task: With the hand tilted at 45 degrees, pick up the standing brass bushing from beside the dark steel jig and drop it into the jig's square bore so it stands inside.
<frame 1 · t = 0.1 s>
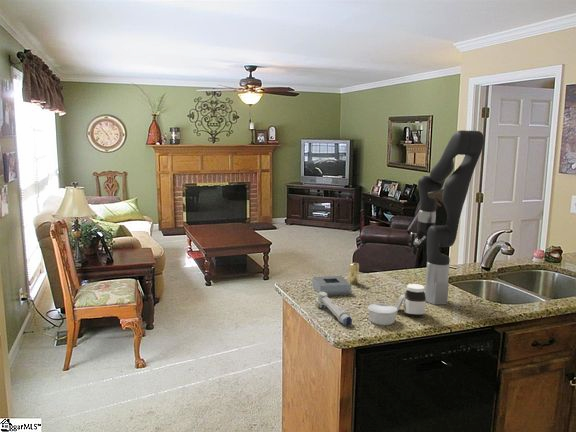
hand: (423, 254, 219), 17 cm above the worktop, tool pointing down, fingers open, 8 cm apart
ramekin: (381, 321, 185), on the worktop
brass bushing: (353, 282, 232), on the worktop
steel jig: (331, 290, 221), on the worktop
spread jar: (408, 313, 194), on the worktop
grey blue-tipped handle: (332, 315, 191), on the worktop
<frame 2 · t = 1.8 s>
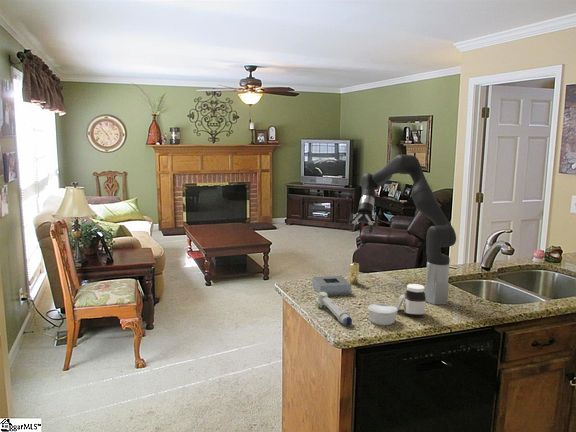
hand: (361, 232, 239), 23 cm above the worktop, tool tilted 45°, fingers open, 8 cm apart
nothing on the worktop moved.
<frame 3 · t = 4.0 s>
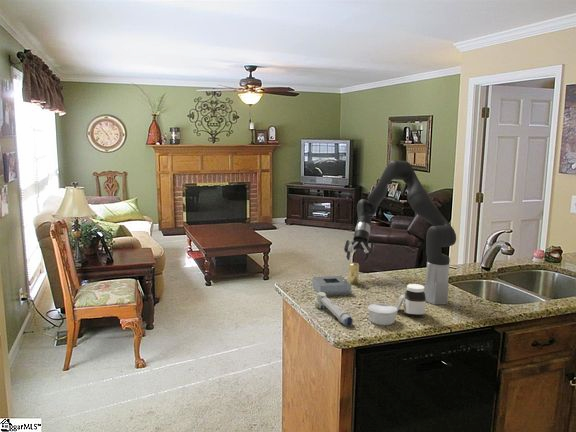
hand: (356, 260, 236), 10 cm above the worktop, tool tilted 45°, fingers open, 8 cm apart
nothing on the worktop moved.
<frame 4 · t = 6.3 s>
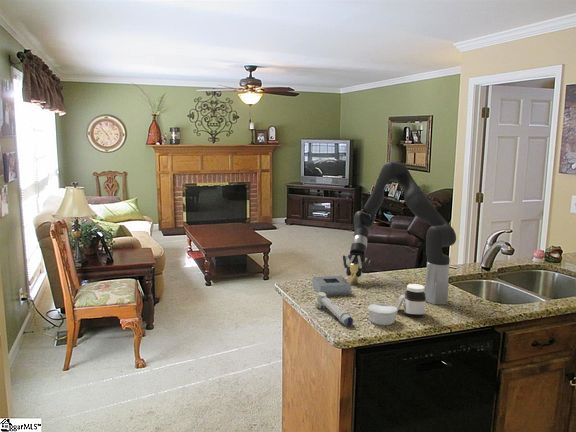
hand: (353, 275, 230), 4 cm above the worktop, tool tilted 45°, fingers closed on brass bushing, 4 cm apart
brass bushing: (353, 282, 232), on the worktop, touching gripper
everything else where it was.
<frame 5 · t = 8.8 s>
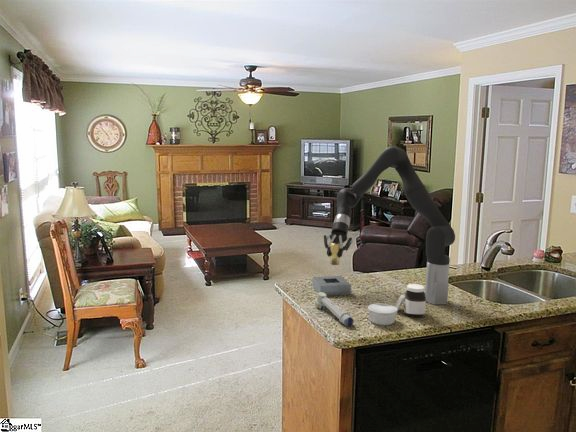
hand: (333, 256, 218), 16 cm above the worktop, tool tilted 45°, fingers closed on brass bushing, 4 cm apart
brass bushing: (334, 263, 221), point 12 cm above the worktop, touching gripper
everything else where it was.
when the fingers open (7 cm above the worktop, at t = 11.5 s): brass bushing drops 2 cm, resting on steel jig.
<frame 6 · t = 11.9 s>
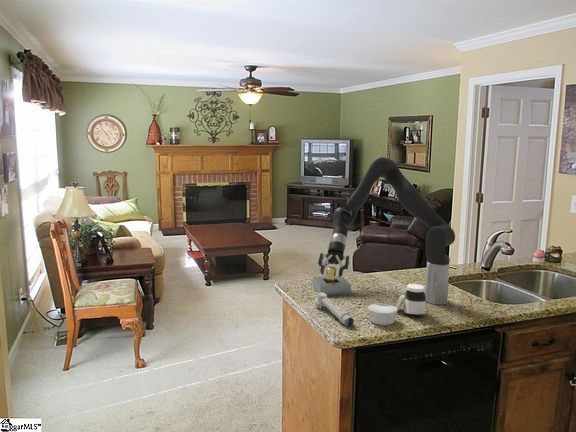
hand: (330, 275, 218), 8 cm above the worktop, tool tilted 45°, fingers open, 7 cm apart
brass bushing: (330, 287, 221), point 1 cm above the worktop, touching steel jig
everything else where it was.
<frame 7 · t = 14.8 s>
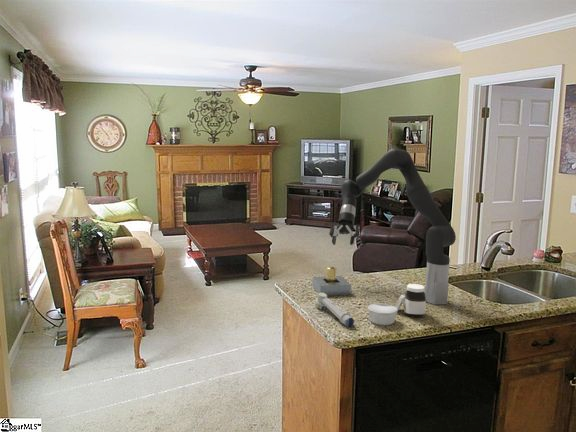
hand: (342, 244, 229), 19 cm above the worktop, tool tilted 40°, fingers open, 8 cm apart
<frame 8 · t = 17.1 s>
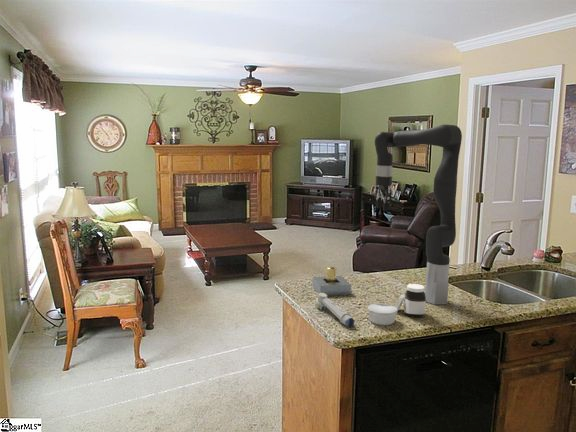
hand: (382, 209, 227), 36 cm above the worktop, tool pointing down, fingers open, 8 cm apart
at the end: brass bushing 0.2 cm off-centre on the steel jig, point 1.0 cm above the steel jig's base; brass bushing tilted 0°; the gripper is holding nothing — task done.
